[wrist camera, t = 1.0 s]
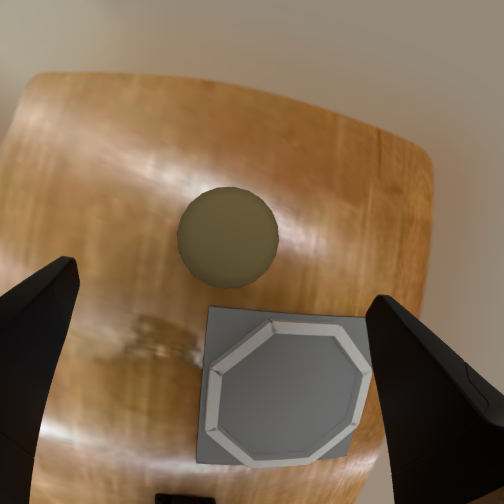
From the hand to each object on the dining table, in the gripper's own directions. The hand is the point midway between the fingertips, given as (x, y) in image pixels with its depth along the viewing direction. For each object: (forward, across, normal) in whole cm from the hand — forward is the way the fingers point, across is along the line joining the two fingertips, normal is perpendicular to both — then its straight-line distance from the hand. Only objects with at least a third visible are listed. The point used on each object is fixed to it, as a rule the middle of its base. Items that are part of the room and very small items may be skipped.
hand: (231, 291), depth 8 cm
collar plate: (+7, -8, +19) cm, 22 cm away
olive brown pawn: (+15, 0, +8) cm, 17 cm away
